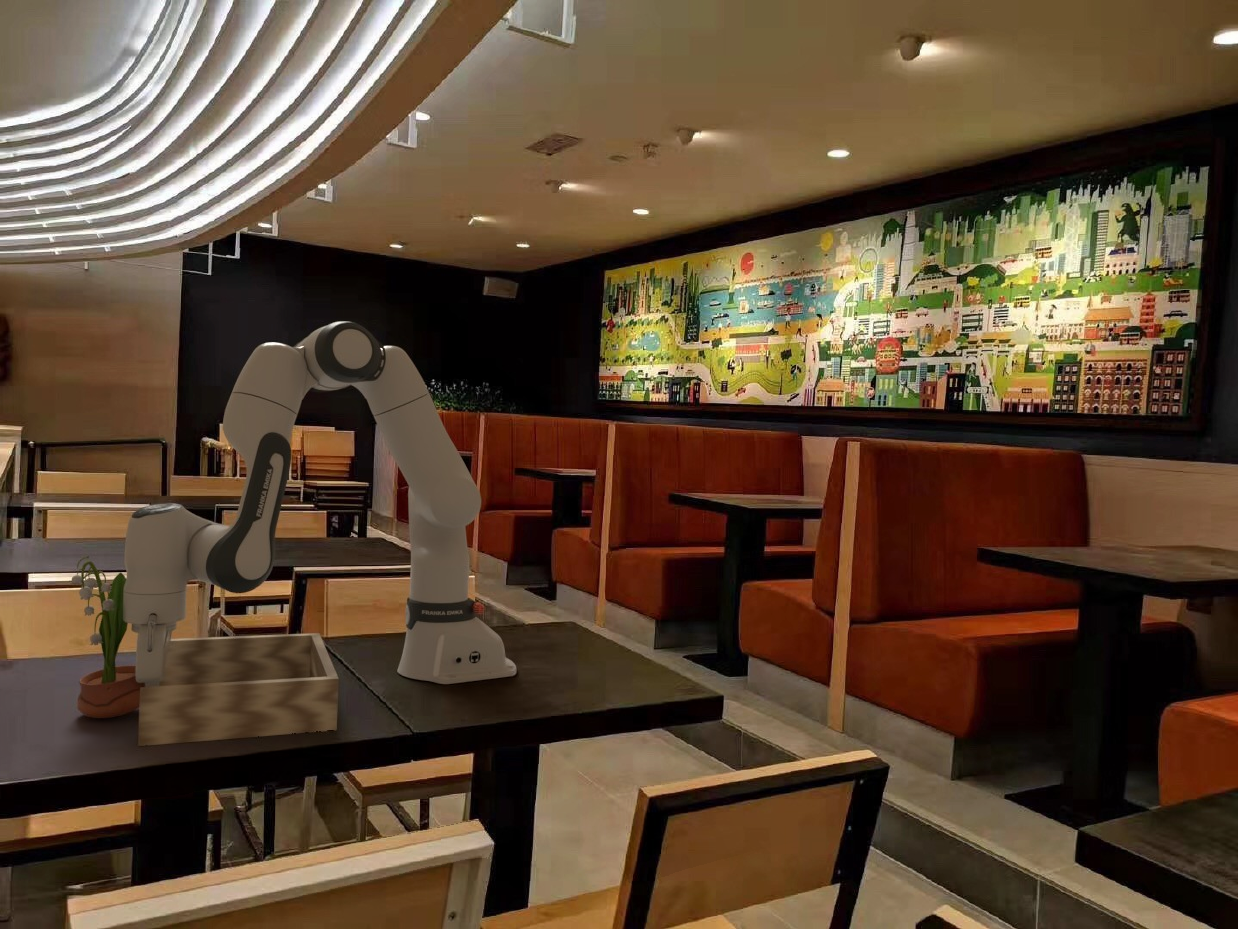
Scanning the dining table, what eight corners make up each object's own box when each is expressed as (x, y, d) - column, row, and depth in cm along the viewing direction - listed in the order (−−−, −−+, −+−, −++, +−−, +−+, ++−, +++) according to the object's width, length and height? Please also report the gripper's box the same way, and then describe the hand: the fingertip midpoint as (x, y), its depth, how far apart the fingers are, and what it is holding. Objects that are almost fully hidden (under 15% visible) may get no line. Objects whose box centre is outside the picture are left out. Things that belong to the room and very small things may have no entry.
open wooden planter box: (317, 676, 169) (319, 633, 168) (336, 730, 140) (338, 678, 140) (153, 685, 158) (154, 639, 158) (138, 746, 130) (139, 690, 129)
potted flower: (129, 724, 136) (109, 560, 133) (59, 730, 135) (37, 565, 132) (162, 695, 148) (144, 543, 145) (97, 701, 147) (78, 548, 144)
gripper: (174, 621, 135) (171, 714, 136) (179, 595, 154) (177, 676, 154) (125, 623, 132) (123, 717, 133) (137, 596, 151) (134, 679, 152)
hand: (152, 695), depth 144 cm, fingers closed, pressing on potted flower
